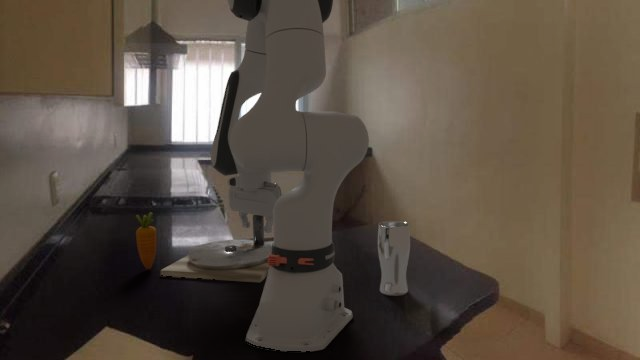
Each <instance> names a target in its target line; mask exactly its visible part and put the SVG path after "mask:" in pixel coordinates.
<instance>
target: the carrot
mask: <svg viewBox="0 0 640 360" xmlns="http://www.w3.org/2000/svg"><path fill="white" fill-rule="evenodd" d="M152 217H153V212H151V211H150V212H149V213H148V214H147V215H146V214H144V215H143V217H142V218H141V217H140V215H139V214H136V216H135V218H136V219H137V220H138V222H139V224H140V225H141V226H140V227H139V228H137V229H136V231H135V236H136V238H135V239H136V240H135V241H136V246H137V247H136V248H137V251H138V255H139V258H140V261H141V262H142V265H143V266H144V267H145V269H146V270H147V269H149V270H151V269H152V266H153V264H154V262H155V259H156V255H157V253H156V252H157V247H158V246H157V242H158V241H157V240H158V239H157V238H158V237H157V236H158V235H157V229H156V227H155V226H152V225H151V224H152V223H153V222H154V219H152Z"/></svg>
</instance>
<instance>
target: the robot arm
mask: <svg viewBox="0 0 640 360" xmlns="http://www.w3.org/2000/svg"><path fill="white" fill-rule="evenodd" d="M227 2H228V5H229V9H230V11H231V13H232V14H233V15H234V16H235V17H236V18H238V19H241V20H244V21H247V27H246V32H245V42H244V54H243V58H242V60H241V63H240V65H239V66H238V68H236V69H235V70H233V71H231V72H230V74H229V77H228V79H227V82H226V86H225V89H224V93H223V98H222V99H223V100H222V104H221V106H220V107H221V108H220V113H219V117H218V124H217V127H216V132H215V135H214V139H213V141H212V142H213V143H212V145H211V150H210V162H211V166H212V167H213V169H215V170H216V171H217V172H218V173H219V174H221V175H223V176H225V177H226V176H230V177H229V178H228V179H227V184H228V186H229V188H228V205H229V208H230V210H231V211H233V212H238V216H239V219H240V221H241V227H242V228H244V229H247V228H248V229H249V228H251V221H249V218H248V215H249V214H250V215H259V216H264V217H265V222H266V223H265V224H264V226H263V229H264V233H267V234H271V233H272V231H273V243H272V244H271V246H272V251H271V254H269V256H268V257H269V258H268V264H269V266H272V267H271V268H270V269H269V270H268V275H267V277H266V279H265V283H264V286H263V288H262V289H263V290H262V294H261V295H260V300H259V305H258V307H257V309H256V310H255V314H254V316H253V318H252V321H251V323H250V325H249V328H248V330H247V333H246V337H245V342H246V341H247V342H249V343H251V344H253V345H256V346H261V347H265V348H271V349H275V350H274V351H276V350H280V351H279V352H287V351H301V352H300V353H306V351H310V352H316V351H322V350H324V349H326V348H327V346H328V345H329V344H330V343H331V342H332V340H334V339H335V337H337V336H338V334H339V333H340V332H341V331H342V330H343V329H344V328H345V326H346V325H348V323H350V321H351V320H352V319H353V318H354V317H353V312H352V310H350V309H348V308H346V307H345V300H344V299H345V296H344V286H343V285H344V281H343V279H344V278H343V274H342V272H341V270H339V269H337V267H336V265H335V264H334V262H335V259H336V258H335V254H336V251H335V249H336V248H335V243H334V242H333V236H332V235H333V232H332V229H333V210H334V204H335V203H334V202H335V199H336V196H337V192H338V190H339V188H340V186H341V184H342V182H343V181H344V180H345V179H346V177H347V175H348V174H349V173H350V172H351V171H352V170H353V169H354V168H355V167H356V166H358V165H359V164H360V163H361V162H362V161H363V160H364V159H365V156H366V155H367V152H368V149H369V144H370V143H369V141H370V140H369V139H370V138H369V137H370V136H369V132H368V129H367V128H366V125H365V123H364V121H363V120H362V119H361V118H360V117H359V116H357V115H354V114H350V113H346V112H345V113H344V112H340V111H300V110H297V107H296V106H297V101H298V100H300V99H301V98H303V97H305V96H307V95H309V94H311V93H312V92H314V91H316V90H317V89H319V88H320V87H321V86H322V85H323V83H324V81H325V79H326V75H327V67H326V66H327V65H326V49H325V47H326V46H325V34H324V23H325V22H326V21H327V20H328V19H329V18H330V16H331V12H332V9H333V5H334V0H227ZM259 94H260V95H259ZM257 95H259V98H258V99H257V101H256V102H255V104H254V105H253V106H252V107H251V108H250V109H249V110H248V111H246V113H244V114H243V115H242V116H241V117H240V113H241V110H242V107H243V105H244V104H245V103H246V102H247V101H248V100H249V99H251V98H253V97H255V96H257ZM277 172H278V173H281V172H283V173H284V172H303V177H302V179H301V181H300V183H299V184H298V185H297V186H296V187H294V188H292V189H290V190H288V191H286V192H285V193H283V192H282V188H281V186H279V185H278V184H279V183H276V182H272V173H277ZM232 175H234V176H232ZM231 176H232V177H231Z"/></svg>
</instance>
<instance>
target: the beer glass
mask: <svg viewBox="0 0 640 360" xmlns="http://www.w3.org/2000/svg"><path fill="white" fill-rule="evenodd" d="M377 251H378V258H379V265H380V271H381V279H380V285H379V291H380V293H381V294H383V295H385V296H389V297H390V296H391V297H392V296H393V297H400V296H404V295H406V294H407V293H408V291H409V289H408V283H407V269H408V268H407V267H408V263H409V258H410V251H411V232H410V223H408V222H406V221H399V220H397V221H396V220H388V221H387V220H386V221H381V222H379V223H378V231H377Z"/></svg>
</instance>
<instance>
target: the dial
mask: <svg viewBox="0 0 640 360" xmlns="http://www.w3.org/2000/svg"><path fill="white" fill-rule="evenodd" d="M264 223H265V221H264V216H259V215H254V214H252V235H253V237H252V238H253V239H226V240H225V239H224V240H216V241H211V242H205V243H202V244H200V245H197V246H193V247H192V248H191V249H189V250H188V253H187V255H188V262H189V263H190V264H191V265H193V266H195V267H198V268H203V269H213V270H228V269H239V268H246V267H251V266H255V265H259V264H262V263H264V262H266V261H268V258H269V257H268V256H269V254H271V251H272V244H270V243H267V242H265V232H264V229H263V226H265V224H264Z"/></svg>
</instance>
